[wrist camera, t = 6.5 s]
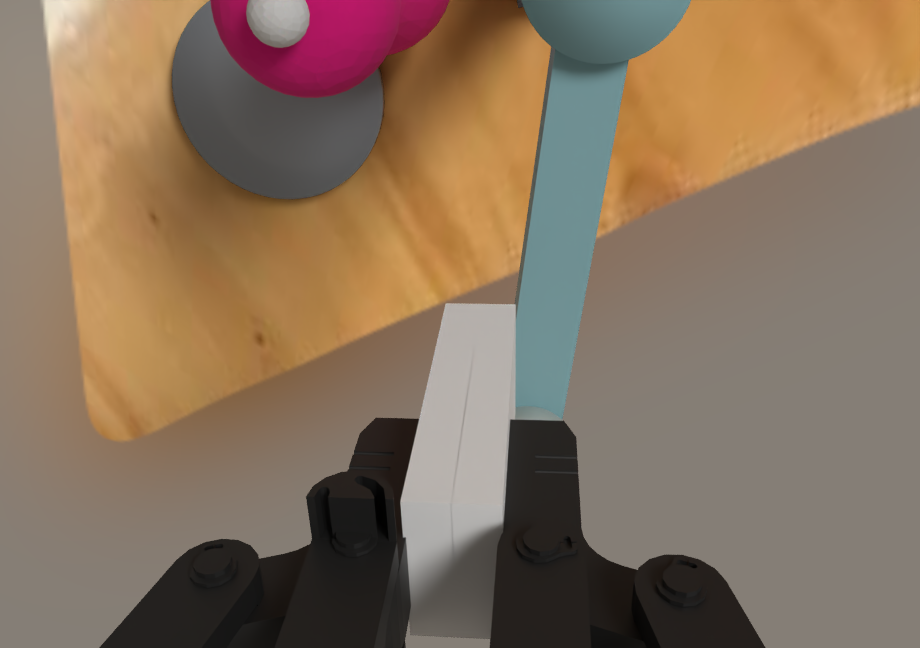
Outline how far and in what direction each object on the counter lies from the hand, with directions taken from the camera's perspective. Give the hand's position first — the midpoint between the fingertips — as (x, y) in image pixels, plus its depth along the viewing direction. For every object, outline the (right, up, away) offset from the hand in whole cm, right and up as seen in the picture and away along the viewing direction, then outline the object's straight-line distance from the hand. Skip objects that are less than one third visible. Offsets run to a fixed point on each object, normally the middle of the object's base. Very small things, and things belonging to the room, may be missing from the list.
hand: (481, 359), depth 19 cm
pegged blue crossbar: (+2, +4, +4) cm, 7 cm away
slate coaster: (-10, +13, +26) cm, 31 cm away
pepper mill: (-4, +18, +23) cm, 30 cm away
